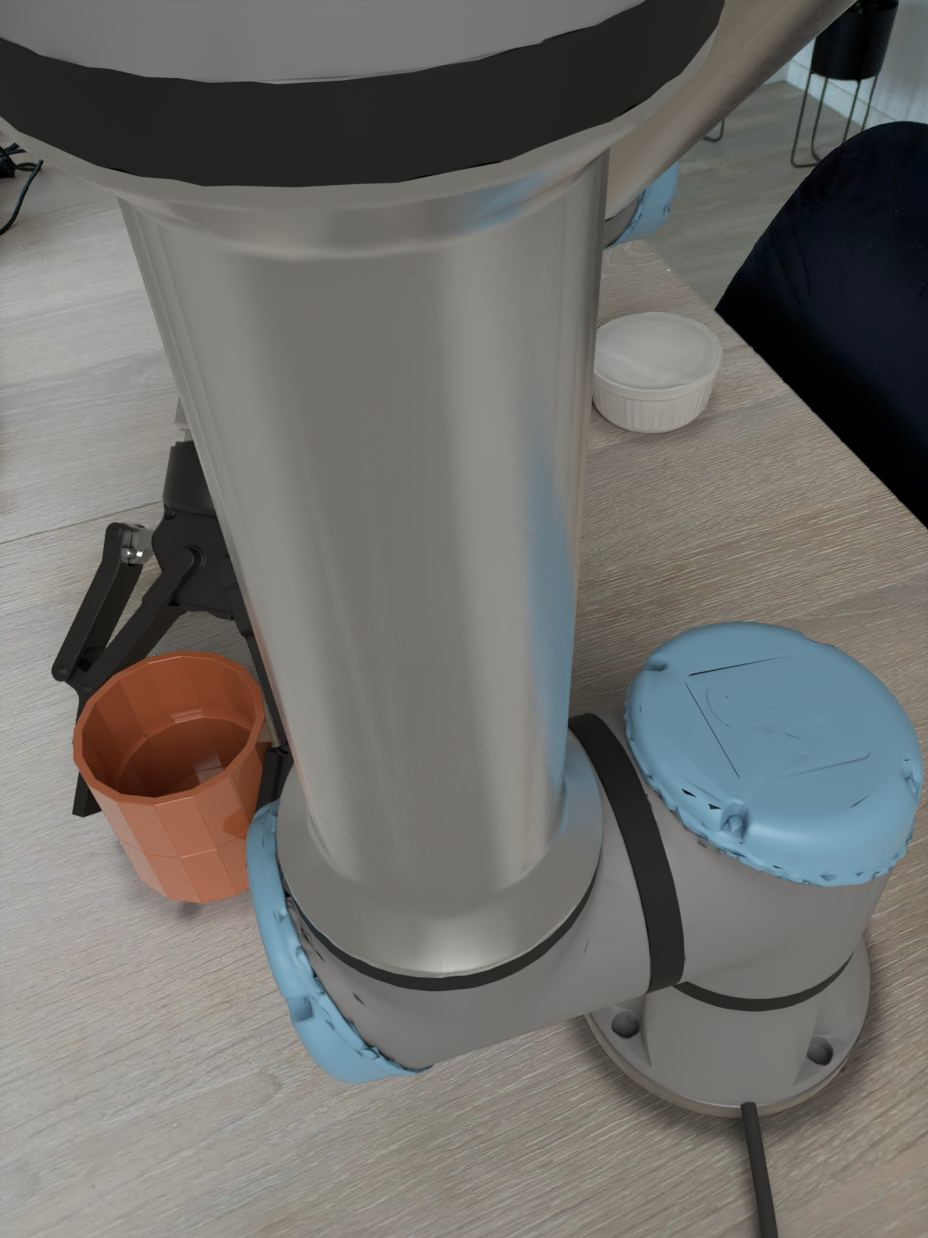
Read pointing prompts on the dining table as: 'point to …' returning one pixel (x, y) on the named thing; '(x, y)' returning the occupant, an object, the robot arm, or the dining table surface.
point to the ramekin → (654, 370)
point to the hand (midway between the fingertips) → (175, 836)
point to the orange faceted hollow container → (178, 768)
